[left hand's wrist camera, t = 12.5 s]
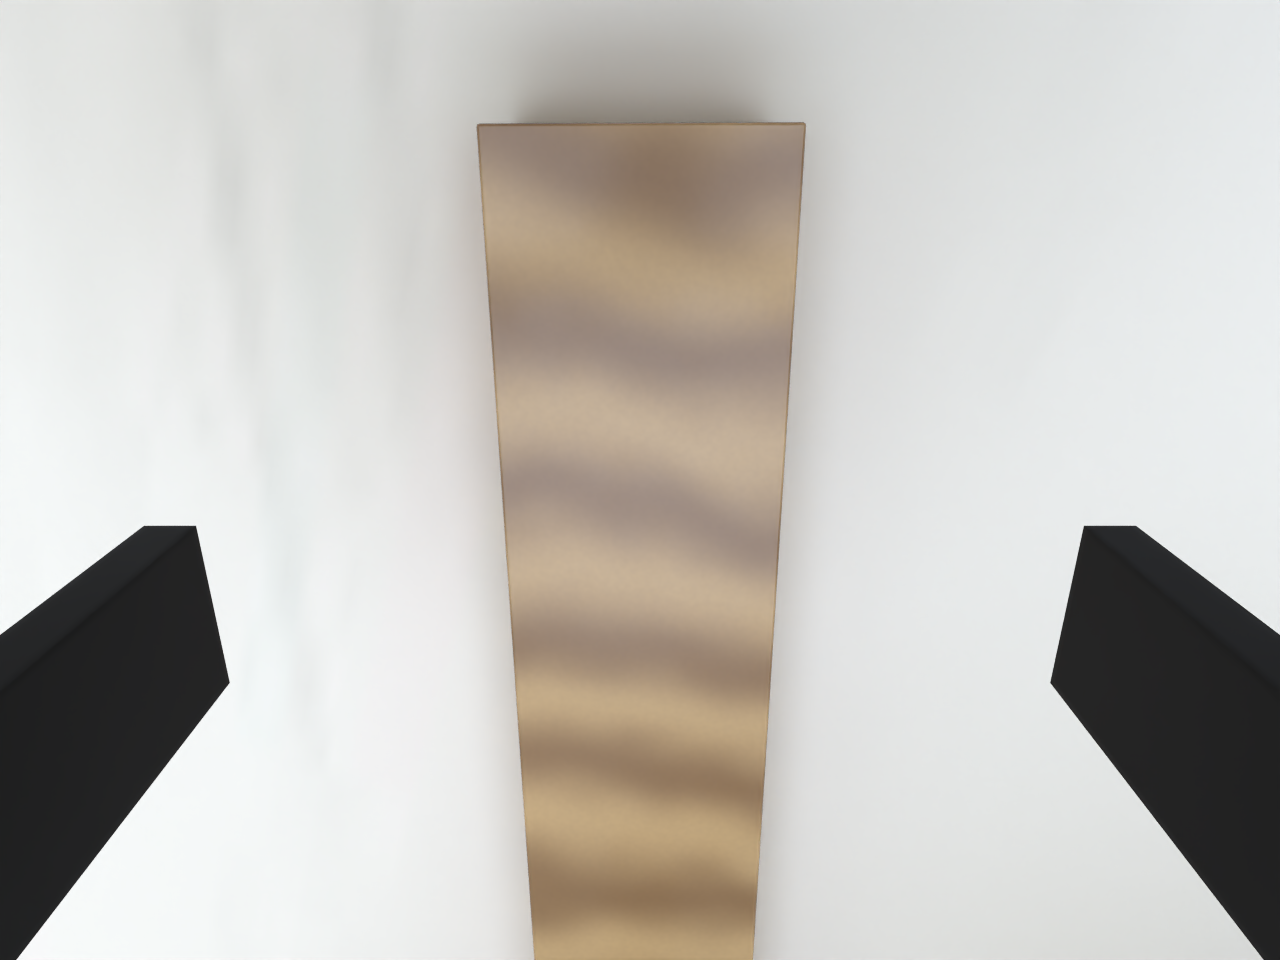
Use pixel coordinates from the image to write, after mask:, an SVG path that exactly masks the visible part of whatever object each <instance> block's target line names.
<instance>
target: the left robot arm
mask: <svg viewBox="0 0 1280 960" xmlns="http://www.w3.org/2000/svg"><path fill="white" fill-rule="evenodd" d="M229 683H230V682H229V677H228V673H227V668H226V664H225V659H224V654H223V650H222V645H221V640H220V636H219V631H218V626H217V622H216V617H215V612H214V608H213V603H212V598H211V594H210V589H209V584H208V580H207V575H206V570H205V566H204V561H203V556H202V552H201V547H200V542H199V538H198V533H197V529H196V526H143V527H142V528H141V529H139V530H138V531H137V532H135V533H134V534H133V535H131V536H130V537H129V538H128V539H126V540H125V541H124V542H122V543H121V544H120V545H118V546H117V547H116V548H114V549H113V550H112V551H110V552H109V553H108V554H106V555H105V556H104V557H102V558H101V559H100V560H98V561H97V562H96V563H95V564H93V565H92V566H91V567H89V568H88V569H87V570H85V571H84V572H83V573H81V574H80V575H79V576H77V577H76V578H75V579H73V580H72V581H71V582H69V583H68V584H67V585H66V586H64V587H63V588H62V589H60V590H59V591H58V592H56V593H55V594H54V595H52V596H51V597H50V598H48V599H47V600H46V601H44V602H43V603H42V604H40V605H39V606H38V607H36V608H35V609H34V610H33V611H31V612H30V613H29V614H27V615H26V616H25V617H23V618H22V619H21V620H19V621H18V622H17V623H15V624H14V625H13V626H11V627H10V628H9V629H7V630H6V631H5V632H4V633H2V634H1V635H0V960H16V959H17V958H18V957H19V956H20V954H21V953H22V952H23V950H24V949H25V948H26V946H27V945H28V944H29V943H30V941H31V940H32V939H33V937H34V936H35V935H36V934H37V932H38V931H39V930H40V928H41V927H42V926H43V924H44V923H45V922H46V921H47V919H48V918H49V917H50V915H51V914H52V913H53V911H54V910H55V909H56V908H57V906H58V905H59V904H60V902H61V901H62V900H63V898H64V897H65V896H66V895H67V893H68V892H69V891H70V889H71V888H72V887H73V885H74V884H75V883H76V882H77V880H78V879H79V878H80V876H81V875H82V874H83V872H84V871H85V870H86V869H87V867H88V866H89V865H90V863H91V862H92V861H93V860H94V858H95V857H96V856H97V854H98V853H99V852H100V850H101V849H102V848H103V847H104V845H105V844H106V843H107V841H108V840H109V839H110V837H111V836H112V835H113V834H114V832H115V831H116V830H117V828H118V827H119V826H120V824H121V823H122V822H123V821H124V819H125V818H126V817H127V815H128V814H129V813H130V811H131V810H132V809H133V808H134V806H135V805H136V804H137V802H138V801H139V800H140V798H141V797H142V796H143V795H144V793H145V792H146V791H147V789H148V788H149V787H150V785H151V784H152V783H153V782H154V780H155V779H156V778H157V776H158V775H159V774H160V773H161V771H162V770H163V769H164V767H165V766H166V765H167V763H168V762H169V761H170V760H171V758H172V757H173V756H174V754H175V753H176V752H177V750H178V749H179V748H180V747H181V745H182V744H183V743H184V741H185V740H186V739H187V737H188V736H189V735H190V734H191V732H192V731H193V730H194V728H195V727H196V726H197V724H198V723H199V722H200V721H201V719H202V718H203V717H204V715H205V714H206V713H207V711H208V710H209V709H210V708H211V706H212V705H213V704H214V702H215V701H216V700H217V699H218V697H219V696H220V695H221V693H222V692H223V691H224V689H225V688H226V687H227V686H228V684H229ZM1050 683H1051V684H1052V686H1053V687H1054V688H1055V689H1056V691H1057V692H1058V693H1059V695H1060V696H1061V697H1062V699H1063V700H1064V701H1065V702H1066V704H1067V705H1068V706H1069V708H1070V709H1071V710H1072V711H1073V713H1074V714H1075V715H1076V717H1077V718H1078V719H1079V721H1080V722H1081V723H1082V724H1083V726H1084V727H1085V728H1086V730H1087V731H1088V732H1089V734H1090V735H1091V736H1092V737H1093V739H1094V740H1095V741H1096V743H1097V744H1098V745H1099V747H1100V748H1101V749H1102V750H1103V752H1104V753H1105V754H1106V756H1107V757H1108V758H1109V760H1110V761H1111V762H1112V763H1113V765H1114V766H1115V767H1116V769H1117V770H1118V771H1119V773H1120V774H1121V775H1122V776H1123V778H1124V779H1125V780H1126V782H1127V783H1128V784H1129V785H1130V787H1131V788H1132V789H1133V791H1134V792H1135V793H1136V795H1137V796H1138V797H1139V798H1140V800H1141V801H1142V802H1143V804H1144V805H1145V806H1146V808H1147V809H1148V810H1149V811H1150V813H1151V814H1152V815H1153V817H1154V818H1155V819H1156V821H1157V822H1158V823H1159V824H1160V826H1161V827H1162V828H1163V830H1164V831H1165V832H1166V834H1167V835H1168V836H1169V837H1170V839H1171V840H1172V841H1173V843H1174V844H1175V845H1176V847H1177V848H1178V849H1179V850H1180V852H1181V853H1182V854H1183V856H1184V857H1185V858H1186V860H1187V861H1188V862H1189V863H1190V865H1191V866H1192V867H1193V869H1194V870H1195V871H1196V872H1197V874H1198V875H1199V876H1200V878H1201V879H1202V880H1203V882H1204V883H1205V884H1206V885H1207V887H1208V888H1209V889H1210V891H1211V892H1212V893H1213V895H1214V896H1215V897H1216V898H1217V900H1218V901H1219V902H1220V904H1221V905H1222V906H1223V908H1224V909H1225V910H1226V911H1227V913H1228V914H1229V915H1230V917H1231V918H1232V919H1233V921H1234V922H1235V923H1236V924H1237V926H1238V927H1239V928H1240V930H1241V931H1242V932H1243V934H1244V935H1245V936H1246V937H1247V939H1248V940H1249V941H1250V943H1251V944H1252V945H1253V946H1254V948H1255V949H1256V950H1257V952H1258V953H1259V954H1260V956H1261V957H1262V958H1263V959H1264V960H1280V635H1279V634H1278V633H1276V632H1275V631H1274V630H1273V629H1271V628H1270V627H1269V626H1267V625H1266V624H1265V623H1263V622H1262V621H1261V620H1259V619H1258V618H1257V617H1255V616H1254V615H1253V614H1251V613H1250V612H1249V611H1247V610H1246V609H1245V608H1244V607H1242V606H1241V605H1240V604H1238V603H1237V602H1236V601H1234V600H1233V599H1232V598H1230V597H1229V596H1228V595H1226V594H1225V593H1224V592H1222V591H1221V590H1220V589H1218V588H1217V587H1216V586H1214V585H1213V584H1212V583H1211V582H1209V581H1208V580H1207V579H1205V578H1204V577H1203V576H1201V575H1200V574H1199V573H1197V572H1196V571H1195V570H1193V569H1192V568H1191V567H1189V566H1188V565H1187V564H1185V563H1184V562H1183V561H1182V560H1180V559H1179V558H1178V557H1176V556H1175V555H1174V554H1172V553H1171V552H1170V551H1168V550H1167V549H1166V548H1164V547H1163V546H1162V545H1160V544H1159V543H1158V542H1156V541H1155V540H1154V539H1152V538H1151V537H1150V536H1149V535H1147V534H1146V533H1145V532H1143V531H1142V530H1141V529H1139V528H1138V527H1137V526H1084V529H1083V533H1082V538H1081V542H1080V547H1079V552H1078V556H1077V561H1076V566H1075V570H1074V575H1073V580H1072V584H1071V589H1070V594H1069V598H1068V603H1067V608H1066V612H1065V617H1064V622H1063V626H1062V631H1061V636H1060V640H1059V645H1058V650H1057V654H1056V659H1055V664H1054V668H1053V673H1052V677H1051V682H1050Z"/></svg>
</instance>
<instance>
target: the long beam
mask: <svg viewBox="0 0 1280 960" xmlns="http://www.w3.org/2000/svg"><path fill="white" fill-rule="evenodd" d="M805 133H806V124H805V123H804V122H760V123H507V124H478V125H477V139H478V153H479V168H480V182H481V197H482V211H483V225H484V240H485V254H486V269H487V283H488V298H489V312H490V326H491V341H492V355H493V370H494V384H495V399H496V413H497V427H498V442H499V456H500V471H501V485H502V499H503V514H504V528H505V543H506V557H507V572H508V586H509V600H510V615H511V629H512V644H513V658H514V673H515V687H516V701H517V716H518V730H519V745H520V759H521V774H522V788H523V802H524V817H525V831H526V846H527V860H528V875H529V889H530V903H531V918H532V932H533V947H534V960H753V950H754V934H755V918H756V903H757V887H758V871H759V855H760V840H761V824H762V808H763V793H764V777H765V761H766V745H767V730H768V714H769V698H770V683H771V667H772V651H773V636H774V620H775V604H776V588H777V573H778V557H779V541H780V526H781V510H782V494H783V478H784V463H785V447H786V431H787V416H788V400H789V384H790V369H791V353H792V337H793V321H794V306H795V290H796V274H797V259H798V243H799V227H800V211H801V196H802V180H803V164H804V149H805Z"/></svg>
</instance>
